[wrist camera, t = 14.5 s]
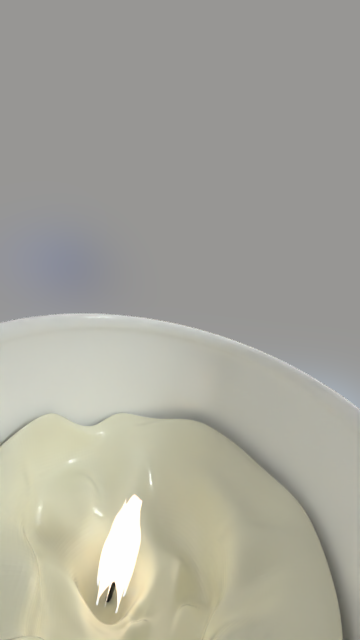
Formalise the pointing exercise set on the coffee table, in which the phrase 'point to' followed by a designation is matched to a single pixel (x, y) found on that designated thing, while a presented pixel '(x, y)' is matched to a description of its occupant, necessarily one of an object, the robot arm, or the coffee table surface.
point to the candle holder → (171, 487)
